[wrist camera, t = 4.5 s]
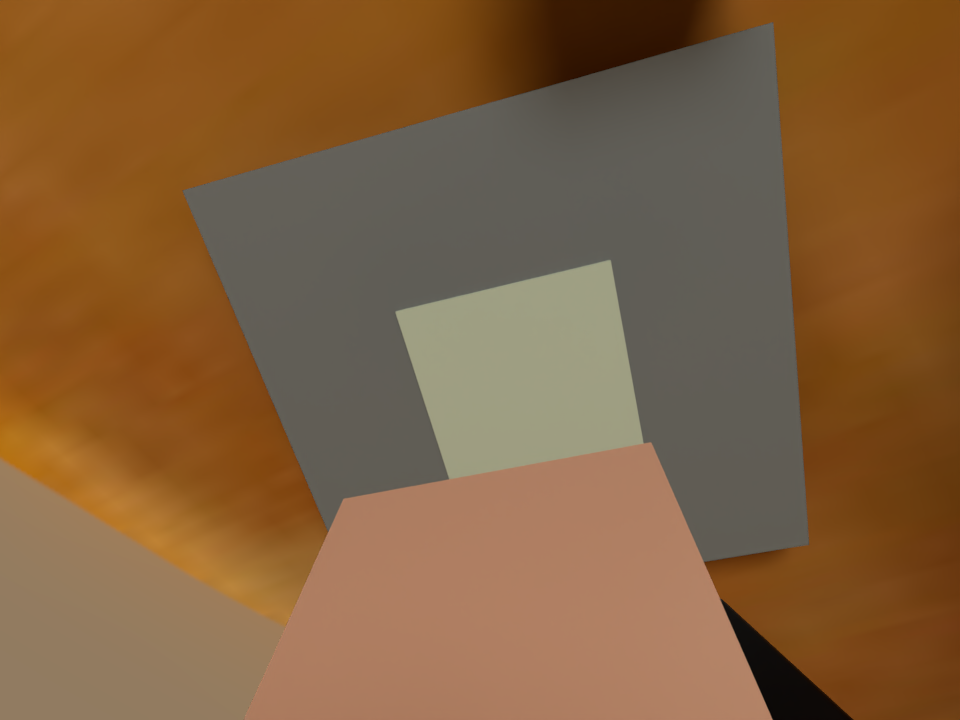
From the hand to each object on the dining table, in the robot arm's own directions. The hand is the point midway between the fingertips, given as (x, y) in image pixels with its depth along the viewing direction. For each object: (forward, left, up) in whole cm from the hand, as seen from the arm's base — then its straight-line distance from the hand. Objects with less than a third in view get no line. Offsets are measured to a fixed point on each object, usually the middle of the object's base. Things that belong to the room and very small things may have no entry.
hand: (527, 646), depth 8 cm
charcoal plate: (0, 0, -11) cm, 11 cm away
